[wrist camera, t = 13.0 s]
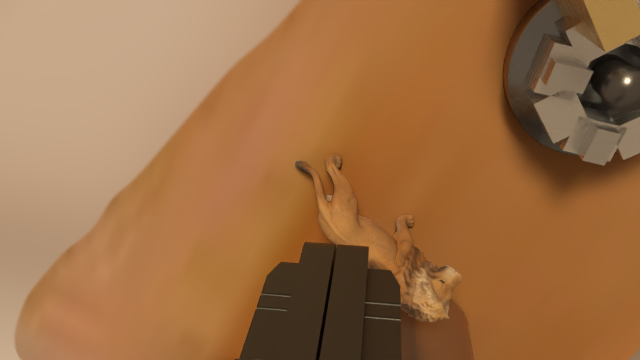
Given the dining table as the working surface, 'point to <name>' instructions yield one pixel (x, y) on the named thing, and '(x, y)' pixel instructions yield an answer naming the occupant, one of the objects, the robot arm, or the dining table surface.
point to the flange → (609, 69)
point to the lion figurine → (384, 247)
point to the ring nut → (584, 79)
